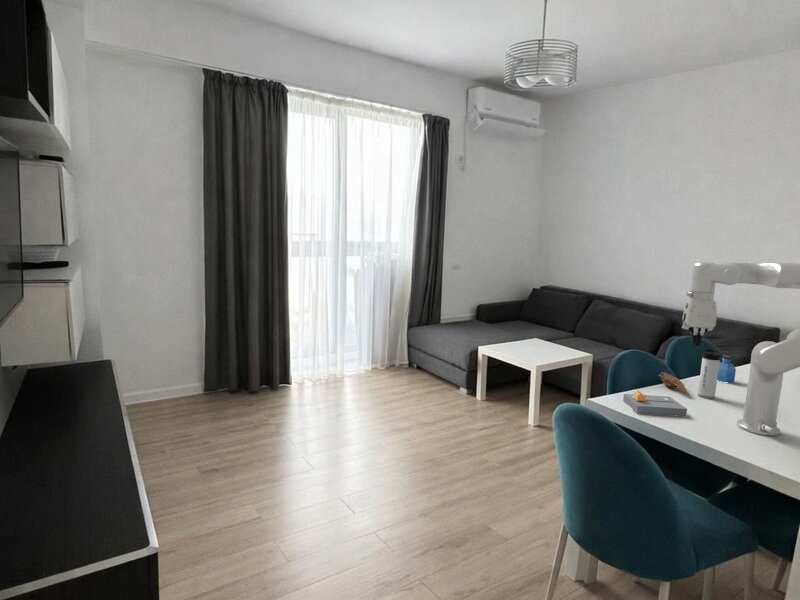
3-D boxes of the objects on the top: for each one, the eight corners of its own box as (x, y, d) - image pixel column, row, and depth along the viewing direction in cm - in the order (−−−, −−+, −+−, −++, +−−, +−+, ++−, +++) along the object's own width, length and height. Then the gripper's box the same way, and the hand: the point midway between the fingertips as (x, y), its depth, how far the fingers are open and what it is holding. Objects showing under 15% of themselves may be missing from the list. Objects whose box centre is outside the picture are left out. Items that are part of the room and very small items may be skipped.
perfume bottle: (712, 379, 241) (716, 355, 239) (721, 378, 244) (724, 354, 242) (725, 383, 235) (729, 358, 234) (734, 382, 238) (737, 357, 236)
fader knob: (645, 401, 194) (645, 394, 194) (637, 400, 194) (637, 393, 194) (640, 397, 198) (641, 391, 198) (633, 397, 198) (633, 390, 198)
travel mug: (709, 394, 217) (715, 349, 214) (717, 399, 211) (724, 353, 208) (694, 393, 218) (700, 348, 215) (701, 398, 211) (708, 352, 208)
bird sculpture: (678, 397, 211) (680, 385, 211) (651, 379, 236) (652, 369, 235) (694, 398, 211) (696, 386, 211) (665, 380, 236) (666, 370, 235)
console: (686, 416, 189) (687, 408, 188) (636, 413, 190) (637, 405, 189) (668, 403, 203) (669, 396, 202) (623, 400, 204) (623, 393, 203)
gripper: (685, 296, 181) (679, 346, 184) (728, 298, 180) (721, 348, 183) (675, 293, 188) (669, 341, 191) (717, 295, 187) (710, 344, 190)
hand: (695, 345), depth 187 cm, fingers closed
